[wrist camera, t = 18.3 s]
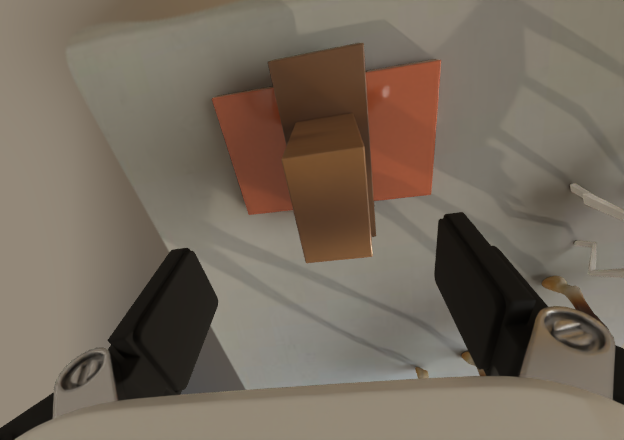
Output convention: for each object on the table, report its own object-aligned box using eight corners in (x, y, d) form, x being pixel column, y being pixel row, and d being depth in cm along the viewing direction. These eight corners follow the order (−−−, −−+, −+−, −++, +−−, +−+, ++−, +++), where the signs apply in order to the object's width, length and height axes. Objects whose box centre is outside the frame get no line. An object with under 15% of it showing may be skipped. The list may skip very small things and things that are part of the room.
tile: (251, 208, 27) (248, 215, 26) (216, 95, 21) (211, 98, 20) (427, 188, 25) (431, 194, 24) (435, 58, 20) (441, 59, 19)
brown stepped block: (370, 213, 25) (392, 301, 17) (310, 220, 26) (301, 308, 17) (357, 42, 18) (383, 44, 10) (276, 58, 19) (235, 73, 10)
